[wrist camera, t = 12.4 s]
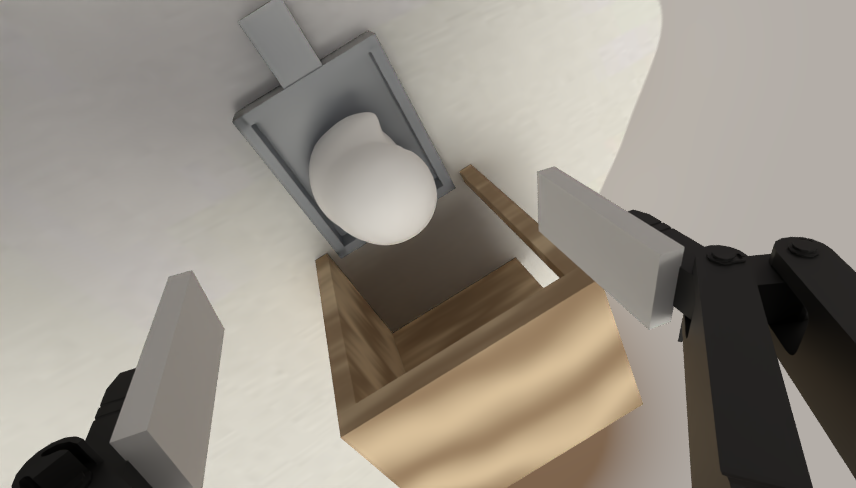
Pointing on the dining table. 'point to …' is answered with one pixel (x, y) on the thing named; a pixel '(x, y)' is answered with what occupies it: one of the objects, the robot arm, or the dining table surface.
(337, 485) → the dining table surface
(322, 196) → the figurine
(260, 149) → the tray
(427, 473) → the box
